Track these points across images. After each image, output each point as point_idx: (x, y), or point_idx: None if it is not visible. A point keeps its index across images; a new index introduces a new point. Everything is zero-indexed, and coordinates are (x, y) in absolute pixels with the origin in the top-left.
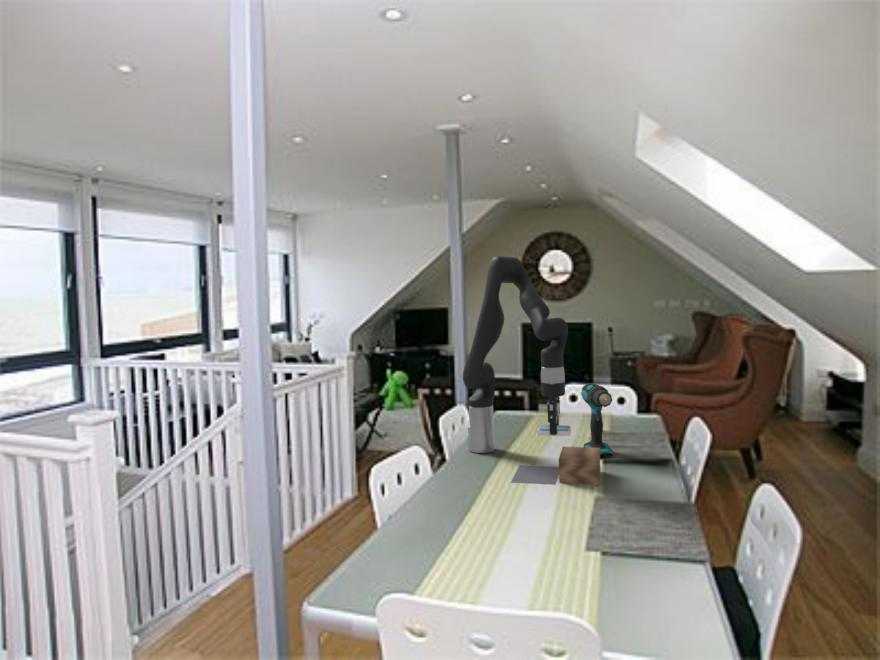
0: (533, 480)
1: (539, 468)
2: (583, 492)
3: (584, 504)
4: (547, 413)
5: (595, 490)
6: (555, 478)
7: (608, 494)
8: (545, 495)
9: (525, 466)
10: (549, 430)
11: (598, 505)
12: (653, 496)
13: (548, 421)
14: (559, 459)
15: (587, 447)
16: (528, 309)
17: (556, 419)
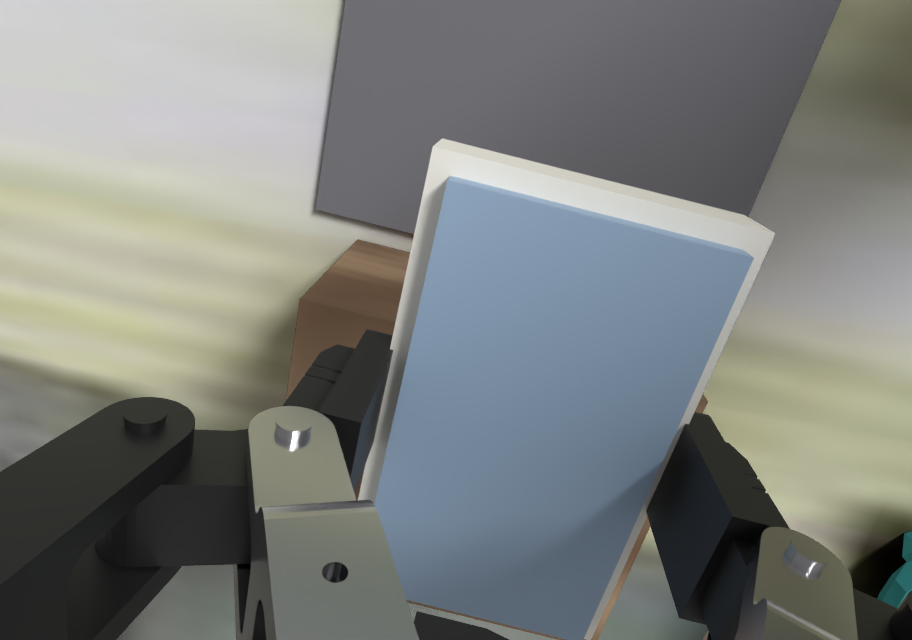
0: (408, 51)
1: (708, 137)
2: (207, 352)
3: (19, 319)
4: (261, 527)
5: (244, 419)
6: None
7: None
8: (128, 111)
9: (801, 11)
10: (413, 346)
11: (20, 383)
12: (181, 625)
13: (107, 411)
14: (302, 303)
15: (623, 576)
16: None
17: (235, 582)
